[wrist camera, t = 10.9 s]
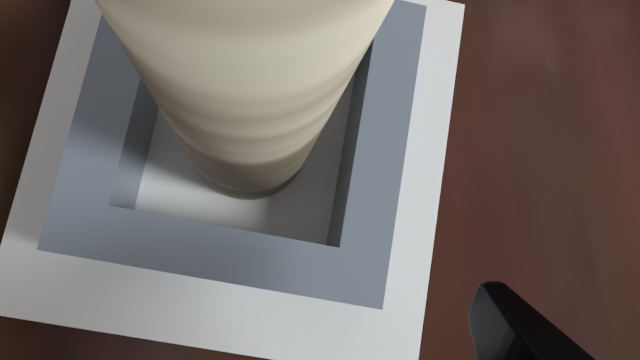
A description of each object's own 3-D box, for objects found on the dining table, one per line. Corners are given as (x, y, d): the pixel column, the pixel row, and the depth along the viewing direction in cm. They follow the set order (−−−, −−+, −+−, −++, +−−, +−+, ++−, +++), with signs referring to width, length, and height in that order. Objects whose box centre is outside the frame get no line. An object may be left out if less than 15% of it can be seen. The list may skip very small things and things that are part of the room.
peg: (321, 179, 18) (541, -66, 4) (210, 215, 18) (65, 60, 4) (285, 74, 19) (384, -447, 5) (175, 105, 18) (-74, -398, 4)
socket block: (406, 376, 18) (448, 405, 14) (-4, 310, 17) (-80, 322, 13) (454, 17, 21) (501, -41, 17) (103, -65, 20) (66, -148, 16)
